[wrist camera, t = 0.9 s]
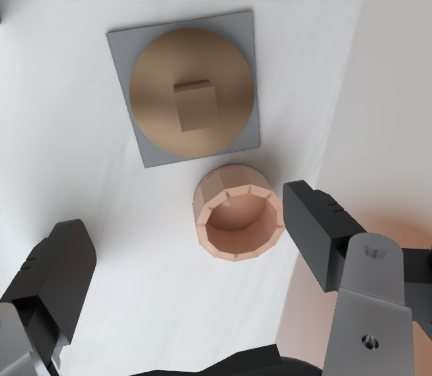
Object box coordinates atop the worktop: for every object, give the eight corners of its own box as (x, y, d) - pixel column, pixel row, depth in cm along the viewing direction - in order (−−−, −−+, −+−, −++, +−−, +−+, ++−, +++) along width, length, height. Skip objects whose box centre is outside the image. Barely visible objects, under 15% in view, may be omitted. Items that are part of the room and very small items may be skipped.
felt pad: (106, 33, 22) (105, 33, 22) (250, 11, 23) (252, 11, 23) (145, 166, 28) (144, 168, 28) (259, 145, 29) (260, 147, 29)
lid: (113, 39, 22) (100, 39, 18) (246, 18, 23) (264, 14, 19) (148, 163, 28) (144, 186, 23) (255, 143, 28) (270, 162, 24)
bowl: (186, 172, 29) (189, 196, 25) (268, 157, 30) (285, 177, 25) (200, 238, 34) (204, 267, 29) (271, 223, 34) (286, 250, 30)
